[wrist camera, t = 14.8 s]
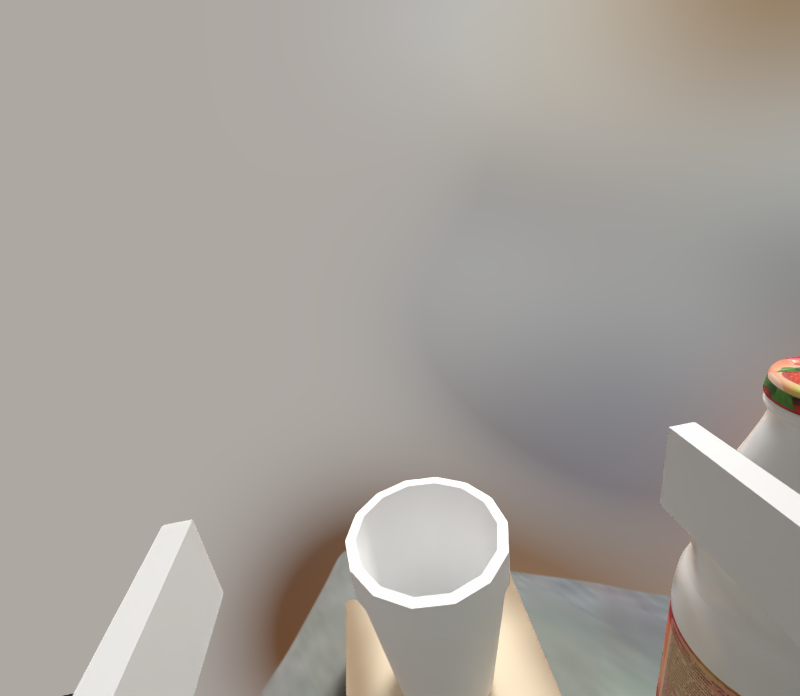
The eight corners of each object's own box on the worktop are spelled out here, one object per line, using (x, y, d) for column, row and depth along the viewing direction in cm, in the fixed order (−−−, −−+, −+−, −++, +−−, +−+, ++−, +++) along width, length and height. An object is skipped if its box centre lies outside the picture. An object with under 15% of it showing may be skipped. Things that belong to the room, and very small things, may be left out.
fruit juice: (668, 819, 26) (750, 432, 15) (642, 660, 34) (684, 335, 24) (872, 888, 23) (1152, 457, 12) (790, 694, 31) (915, 335, 20)
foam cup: (353, 670, 31) (316, 533, 26) (444, 587, 36) (427, 459, 31) (448, 803, 24) (422, 650, 19) (544, 675, 29) (544, 529, 24)
